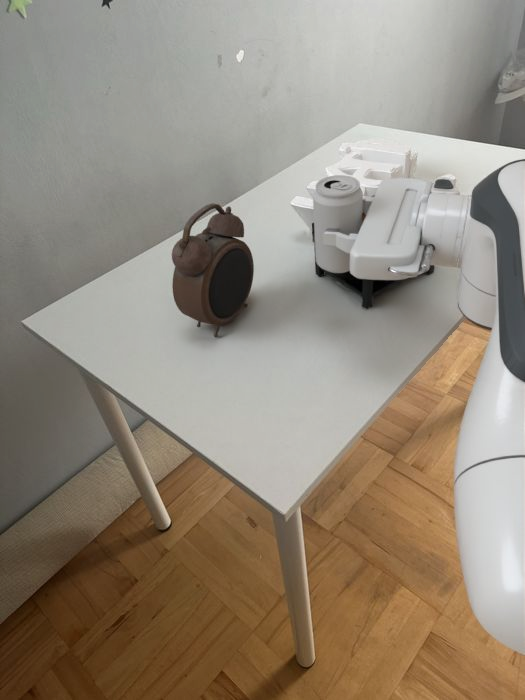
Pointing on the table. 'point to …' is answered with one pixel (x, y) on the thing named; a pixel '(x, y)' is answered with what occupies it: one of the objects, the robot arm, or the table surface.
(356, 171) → the wavy white extrusion
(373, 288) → the miniature side table
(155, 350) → the table surface
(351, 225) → the beverage can
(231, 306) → the alarm clock
